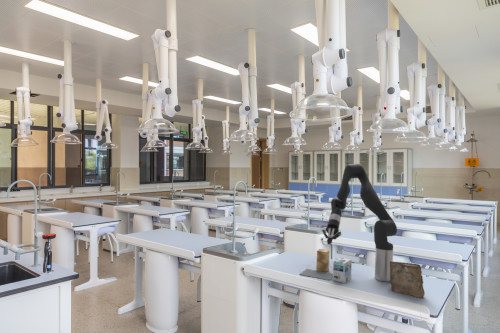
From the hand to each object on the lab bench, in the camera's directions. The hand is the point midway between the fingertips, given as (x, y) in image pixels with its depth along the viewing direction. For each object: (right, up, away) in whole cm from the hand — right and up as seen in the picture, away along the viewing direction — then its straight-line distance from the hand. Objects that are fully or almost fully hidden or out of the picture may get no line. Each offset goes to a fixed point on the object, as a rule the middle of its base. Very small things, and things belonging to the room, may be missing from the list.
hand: (329, 243), depth 210 cm
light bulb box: (0, -14, -28) cm, 31 cm away
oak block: (-7, -13, -12) cm, 19 cm away
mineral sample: (+27, -14, -47) cm, 56 cm away
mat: (-11, -13, -21) cm, 27 cm away
